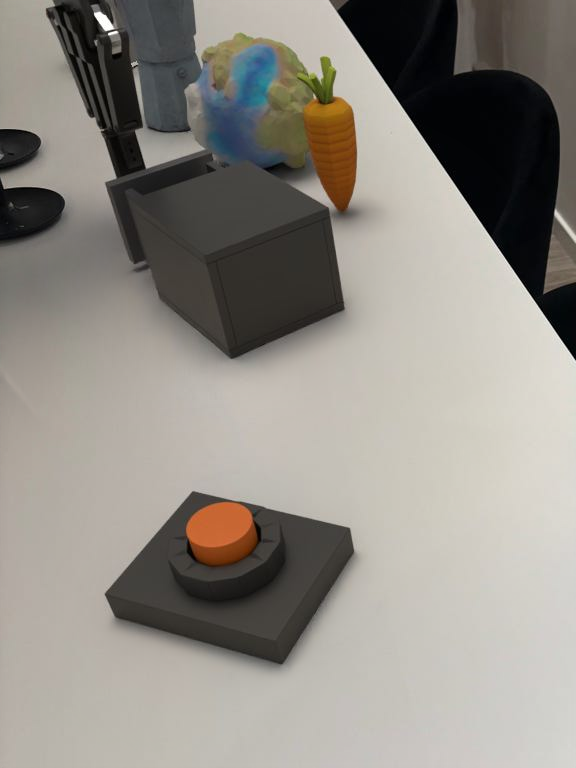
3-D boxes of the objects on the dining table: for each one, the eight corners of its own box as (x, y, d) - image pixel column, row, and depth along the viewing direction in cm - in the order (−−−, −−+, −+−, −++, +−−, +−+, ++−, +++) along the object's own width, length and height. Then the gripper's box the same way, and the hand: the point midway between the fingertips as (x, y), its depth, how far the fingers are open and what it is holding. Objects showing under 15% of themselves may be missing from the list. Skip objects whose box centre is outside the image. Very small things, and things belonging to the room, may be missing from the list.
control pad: (114, 617, 61) (94, 573, 58) (200, 513, 67) (185, 470, 65) (282, 664, 57) (269, 621, 55) (354, 551, 64) (346, 507, 61)
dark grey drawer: (111, 245, 96) (85, 168, 90) (204, 211, 100) (185, 136, 95) (189, 309, 86) (166, 227, 81) (289, 269, 91) (273, 189, 85)
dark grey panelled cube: (159, 298, 89) (129, 199, 83) (267, 255, 94) (247, 159, 88) (231, 358, 82) (204, 255, 75) (345, 308, 87) (329, 207, 80)
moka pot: (194, 143, 116) (147, -44, 102) (107, 121, 122) (52, -59, 108) (248, 116, 121) (211, -65, 108) (163, 96, 128) (118, -78, 114)
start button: (180, 559, 59) (172, 538, 58) (214, 516, 62) (208, 496, 61) (236, 573, 58) (230, 553, 57) (269, 529, 61) (264, 509, 60)
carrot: (340, 227, 98) (317, 73, 88) (309, 213, 101) (282, 63, 90) (376, 209, 101) (357, 58, 90) (344, 197, 103) (322, 48, 93)
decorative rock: (157, 26, 99) (292, 39, 96) (233, 30, 112) (353, 41, 109) (166, 169, 105) (293, 185, 102) (237, 156, 119) (350, 170, 116)
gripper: (131, -68, 80) (200, 202, 96) (68, -90, 88) (143, 164, 104) (44, -49, 77) (131, 227, 93) (-13, -73, 84) (77, 186, 101)
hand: (137, 194), depth 98 cm, fingers closed
